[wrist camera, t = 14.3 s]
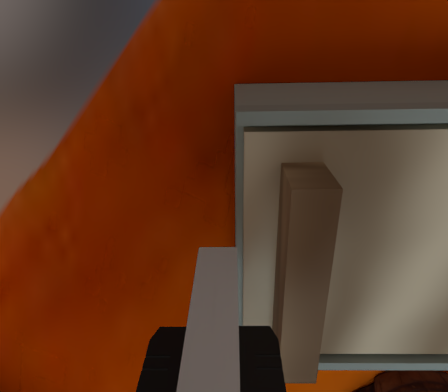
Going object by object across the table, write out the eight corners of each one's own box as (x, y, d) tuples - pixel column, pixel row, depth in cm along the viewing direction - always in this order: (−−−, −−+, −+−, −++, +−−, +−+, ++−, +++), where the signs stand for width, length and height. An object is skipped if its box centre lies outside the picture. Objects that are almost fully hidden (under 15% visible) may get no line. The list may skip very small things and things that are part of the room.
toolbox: (235, 275, 24) (237, 369, 17) (234, 84, 19) (236, 111, 12) (552, 274, 24) (683, 371, 17) (647, 76, 18) (898, 101, 11)
